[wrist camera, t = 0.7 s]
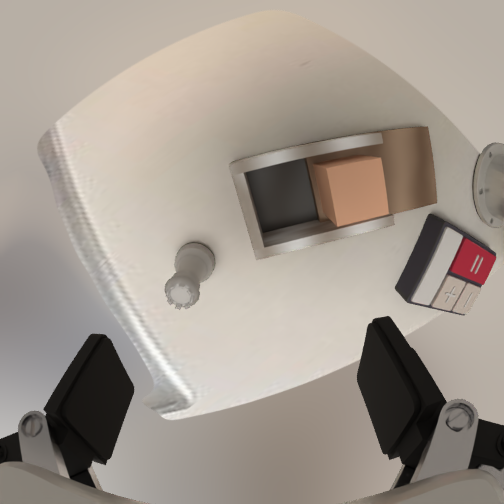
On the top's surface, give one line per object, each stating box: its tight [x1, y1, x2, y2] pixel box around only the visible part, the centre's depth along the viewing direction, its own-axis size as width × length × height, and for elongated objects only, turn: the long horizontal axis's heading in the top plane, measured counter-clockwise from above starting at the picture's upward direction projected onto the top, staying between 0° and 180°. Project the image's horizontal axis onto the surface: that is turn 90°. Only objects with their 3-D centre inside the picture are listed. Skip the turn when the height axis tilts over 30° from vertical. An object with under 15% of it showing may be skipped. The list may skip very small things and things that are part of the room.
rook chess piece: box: [165, 243, 215, 309], centre depth 27 cm, size 4×4×8 cm
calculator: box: [395, 214, 496, 315], centre depth 29 cm, size 11×4×15 cm
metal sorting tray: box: [229, 127, 437, 260], centre depth 25 cm, size 22×9×4 cm, turn 105°
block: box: [313, 155, 389, 227], centre depth 23 cm, size 5×5×5 cm
